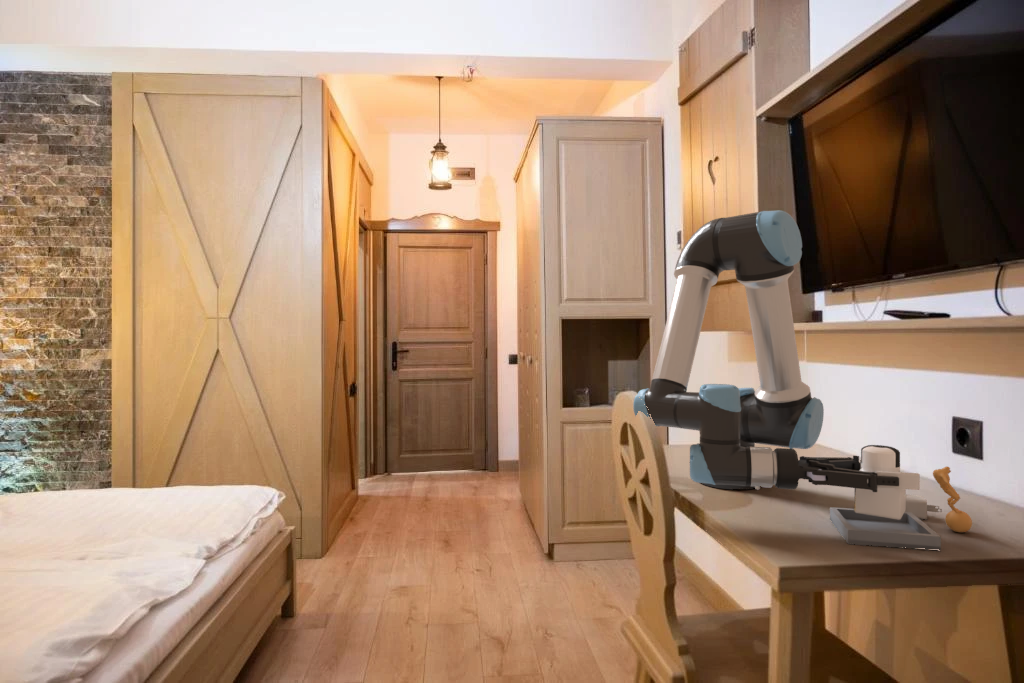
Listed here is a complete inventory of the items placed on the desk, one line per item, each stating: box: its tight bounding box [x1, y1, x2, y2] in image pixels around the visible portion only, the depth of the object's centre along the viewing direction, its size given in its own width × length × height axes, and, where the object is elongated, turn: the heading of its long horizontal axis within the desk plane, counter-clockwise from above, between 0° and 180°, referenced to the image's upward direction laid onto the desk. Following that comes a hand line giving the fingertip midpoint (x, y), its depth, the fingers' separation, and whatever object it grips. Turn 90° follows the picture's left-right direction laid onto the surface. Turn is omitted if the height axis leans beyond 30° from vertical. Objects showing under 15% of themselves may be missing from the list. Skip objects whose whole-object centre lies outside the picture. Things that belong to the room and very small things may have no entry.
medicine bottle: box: [854, 444, 907, 520], centre depth 110 cm, size 7×7×12 cm
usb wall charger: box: [905, 494, 943, 521], centre depth 120 cm, size 4×7×4 cm, turn 66°
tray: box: [829, 507, 942, 551], centre depth 110 cm, size 14×14×2 cm
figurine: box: [932, 466, 973, 533], centre depth 111 cm, size 8×6×12 cm
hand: (908, 475), depth 109 cm, fingers closed on medicine bottle, 9 cm apart
